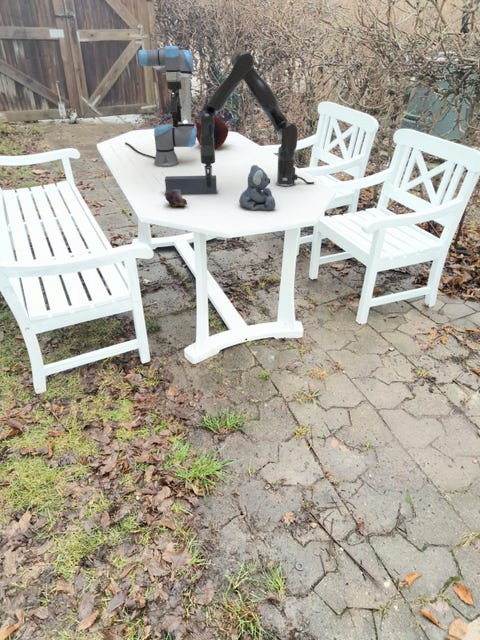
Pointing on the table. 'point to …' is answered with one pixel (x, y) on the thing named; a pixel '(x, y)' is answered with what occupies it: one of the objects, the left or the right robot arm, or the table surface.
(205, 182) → the bar
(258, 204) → the koala plush
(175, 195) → the rock
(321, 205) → the table surface
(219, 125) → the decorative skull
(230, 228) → the table surface
